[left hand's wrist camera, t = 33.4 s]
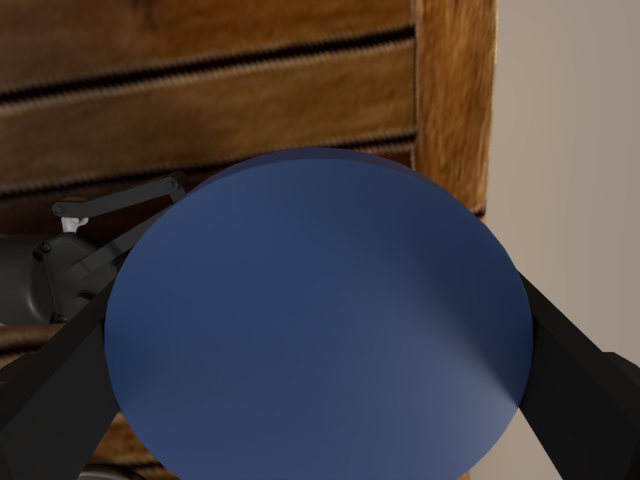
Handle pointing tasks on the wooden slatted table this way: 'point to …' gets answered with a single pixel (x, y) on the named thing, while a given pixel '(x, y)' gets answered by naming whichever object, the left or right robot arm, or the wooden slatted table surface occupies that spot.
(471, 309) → the lid
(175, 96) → the wooden slatted table surface
